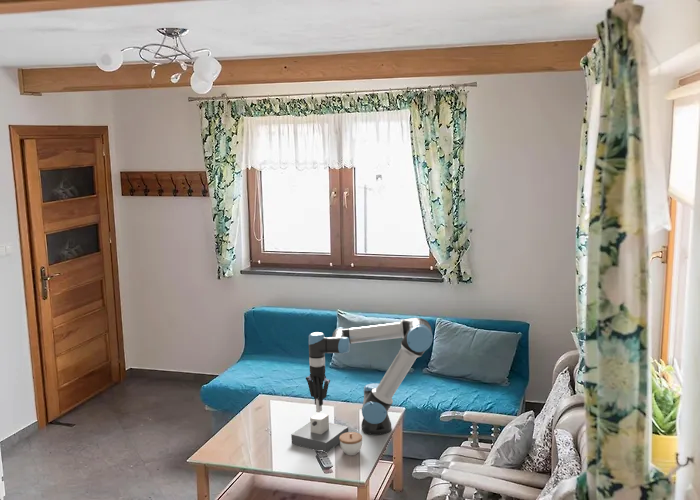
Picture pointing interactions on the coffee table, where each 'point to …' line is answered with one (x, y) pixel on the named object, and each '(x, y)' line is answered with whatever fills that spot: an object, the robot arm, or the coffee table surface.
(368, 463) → the coffee table surface
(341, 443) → the lidded jar
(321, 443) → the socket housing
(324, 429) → the plug
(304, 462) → the coffee table surface
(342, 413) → the coffee table surface
